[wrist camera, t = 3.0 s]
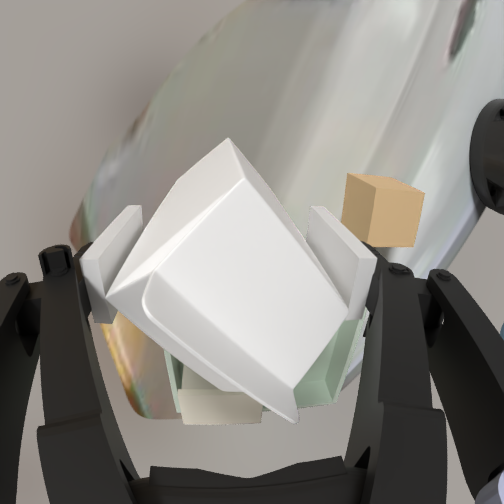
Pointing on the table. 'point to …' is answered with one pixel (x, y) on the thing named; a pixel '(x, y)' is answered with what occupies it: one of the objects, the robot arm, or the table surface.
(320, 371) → the tray
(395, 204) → the box
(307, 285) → the milk
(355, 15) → the table surface
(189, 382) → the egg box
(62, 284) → the robot arm
